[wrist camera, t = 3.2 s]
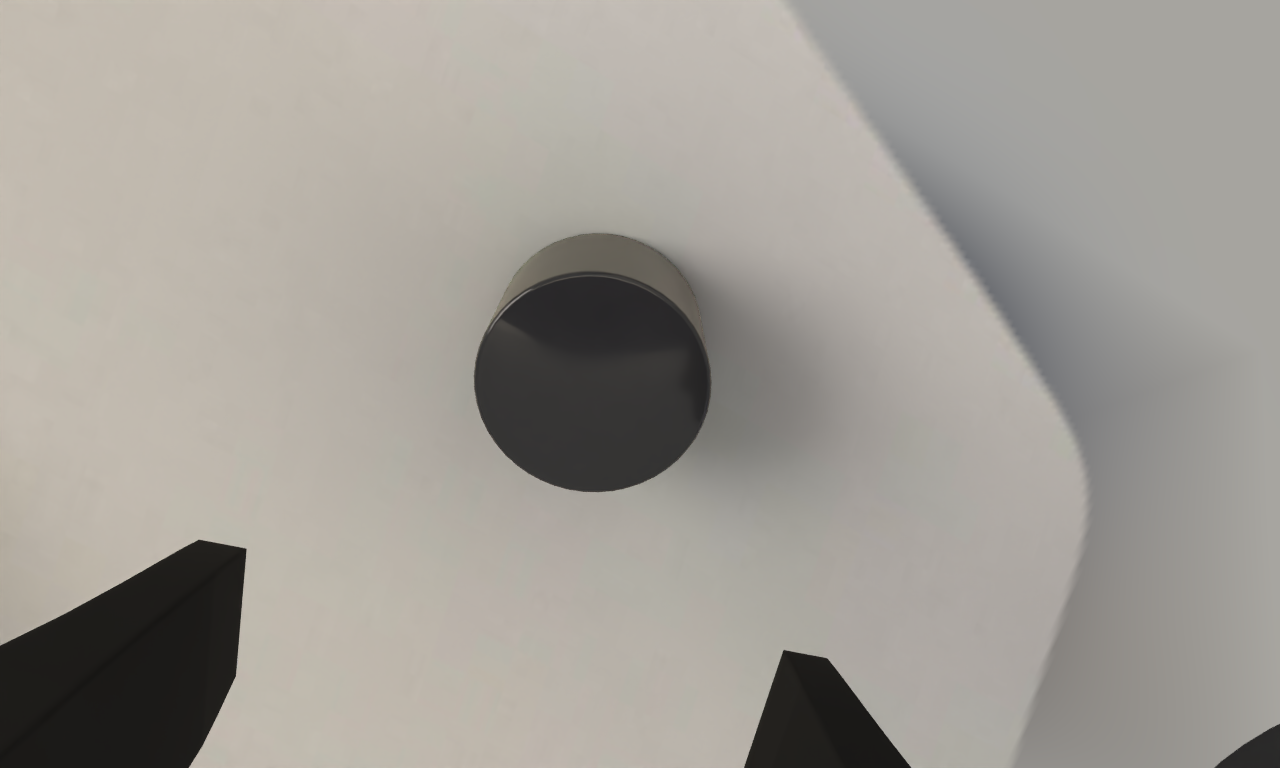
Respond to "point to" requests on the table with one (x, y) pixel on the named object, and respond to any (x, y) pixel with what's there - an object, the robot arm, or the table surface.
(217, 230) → the table surface
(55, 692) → the robot arm
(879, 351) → the table surface
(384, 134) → the table surface
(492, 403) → the dark grey cylinder
